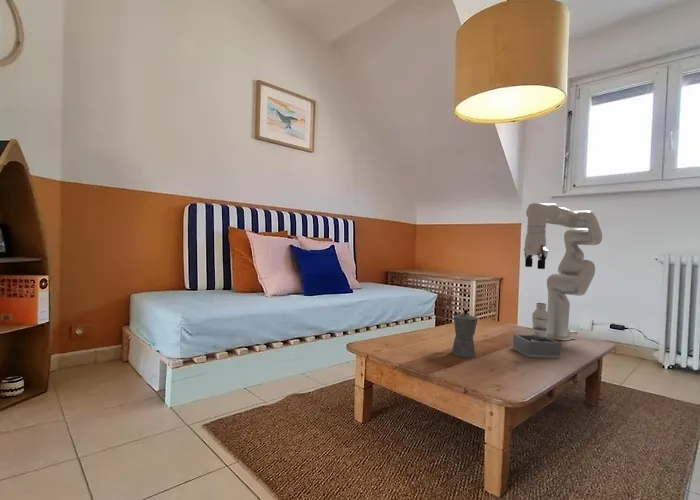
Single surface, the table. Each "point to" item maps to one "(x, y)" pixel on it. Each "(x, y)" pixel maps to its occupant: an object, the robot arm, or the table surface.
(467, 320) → the coffeepot
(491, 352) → the table surface
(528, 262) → the robot arm
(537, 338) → the plastic bottle
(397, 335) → the table surface
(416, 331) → the table surface
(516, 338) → the grey open box
